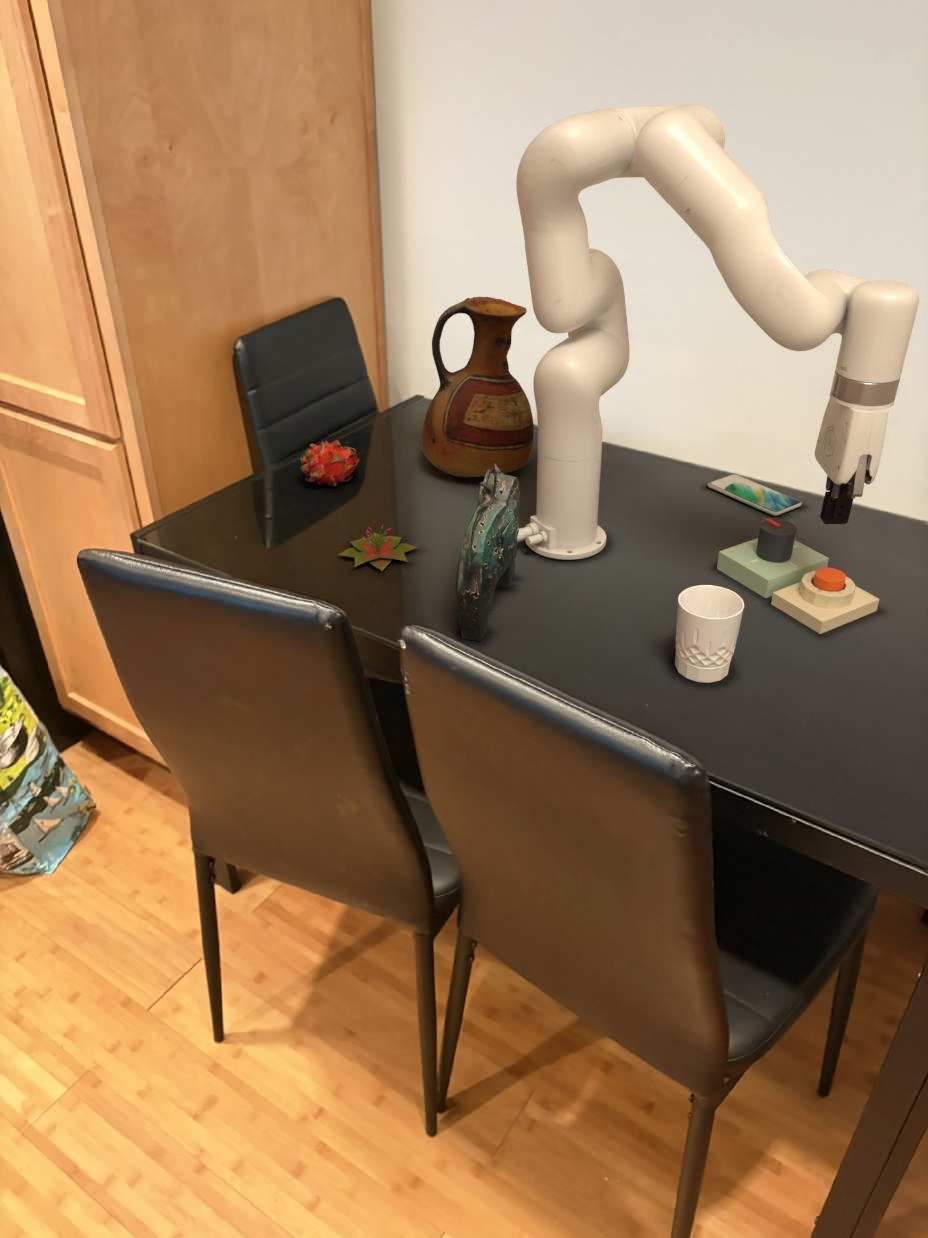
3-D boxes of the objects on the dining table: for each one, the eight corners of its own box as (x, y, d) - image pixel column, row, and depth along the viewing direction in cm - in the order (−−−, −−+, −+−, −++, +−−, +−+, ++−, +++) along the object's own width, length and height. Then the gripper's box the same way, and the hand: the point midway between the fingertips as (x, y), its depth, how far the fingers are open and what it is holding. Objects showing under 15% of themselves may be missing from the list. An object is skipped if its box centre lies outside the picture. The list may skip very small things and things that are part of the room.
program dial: (798, 557, 141) (804, 527, 138) (773, 565, 139) (778, 536, 136) (774, 543, 144) (779, 514, 142) (748, 551, 142) (753, 522, 140)
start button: (829, 596, 130) (831, 584, 129) (806, 583, 133) (808, 572, 132) (849, 587, 132) (852, 576, 131) (826, 575, 135) (829, 564, 134)
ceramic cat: (487, 569, 146) (487, 444, 135) (529, 574, 144) (532, 449, 133) (448, 640, 130) (443, 505, 119) (494, 647, 128) (494, 511, 117)
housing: (820, 634, 129) (825, 609, 127) (770, 604, 136) (775, 579, 133) (876, 611, 134) (882, 586, 131) (826, 583, 140) (831, 558, 138)
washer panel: (765, 598, 137) (768, 579, 135) (716, 568, 144) (719, 550, 142) (825, 575, 142) (829, 556, 140) (775, 548, 149) (778, 529, 147)
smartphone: (733, 472, 171) (803, 501, 160) (733, 477, 171) (803, 506, 161) (705, 482, 167) (775, 513, 157) (705, 487, 168) (774, 517, 157)
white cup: (663, 652, 126) (670, 586, 121) (722, 648, 127) (732, 582, 121) (679, 688, 120) (688, 620, 114) (742, 684, 120) (753, 616, 115)
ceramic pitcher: (535, 489, 169) (539, 316, 152) (420, 491, 169) (411, 318, 153) (530, 445, 185) (533, 285, 169) (425, 447, 185) (418, 287, 169)
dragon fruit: (297, 497, 171) (357, 489, 178) (314, 484, 164) (376, 476, 171) (286, 451, 172) (346, 445, 178) (303, 435, 165) (365, 430, 171)
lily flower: (373, 529, 157) (371, 504, 155) (432, 549, 151) (431, 523, 149) (323, 560, 149) (320, 533, 146) (383, 582, 143) (381, 554, 140)
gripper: (814, 367, 125) (789, 496, 135) (854, 410, 112) (822, 549, 122) (873, 367, 125) (843, 496, 135) (918, 410, 112) (881, 548, 122)
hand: (833, 521), depth 128 cm, fingers closed
